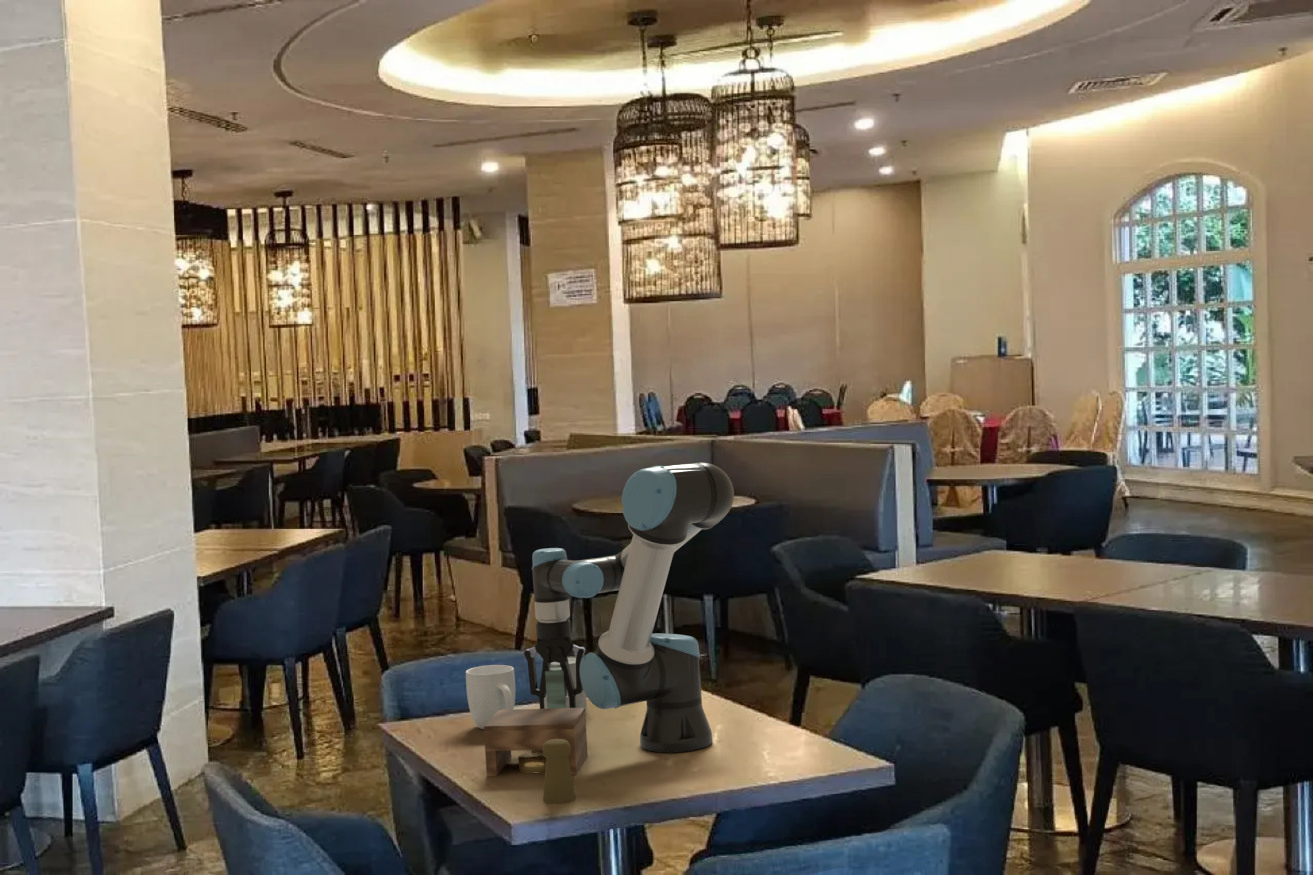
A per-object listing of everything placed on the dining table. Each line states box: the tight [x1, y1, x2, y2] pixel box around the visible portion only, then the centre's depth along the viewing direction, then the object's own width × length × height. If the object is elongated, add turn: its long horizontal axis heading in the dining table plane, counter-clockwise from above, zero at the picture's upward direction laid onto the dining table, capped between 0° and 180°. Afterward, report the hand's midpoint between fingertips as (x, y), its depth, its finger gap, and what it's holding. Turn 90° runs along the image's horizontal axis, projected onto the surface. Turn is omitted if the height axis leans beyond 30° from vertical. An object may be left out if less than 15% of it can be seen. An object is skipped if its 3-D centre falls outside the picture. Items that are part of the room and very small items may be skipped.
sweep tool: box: [530, 668, 568, 752], centre depth 306 cm, size 24×4×14 cm, turn 173°
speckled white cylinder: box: [550, 655, 588, 714], centre depth 339 cm, size 10×10×12 cm
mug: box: [465, 664, 516, 730], centre depth 327 cm, size 15×11×13 cm
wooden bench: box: [483, 708, 589, 777], centre depth 292 cm, size 18×14×10 cm
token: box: [518, 752, 546, 774], centre depth 291 cm, size 7×7×2 cm
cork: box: [542, 739, 576, 805], centre depth 268 cm, size 6×6×11 cm
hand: (559, 725), depth 316 cm, fingers closed on sweep tool, 4 cm apart
